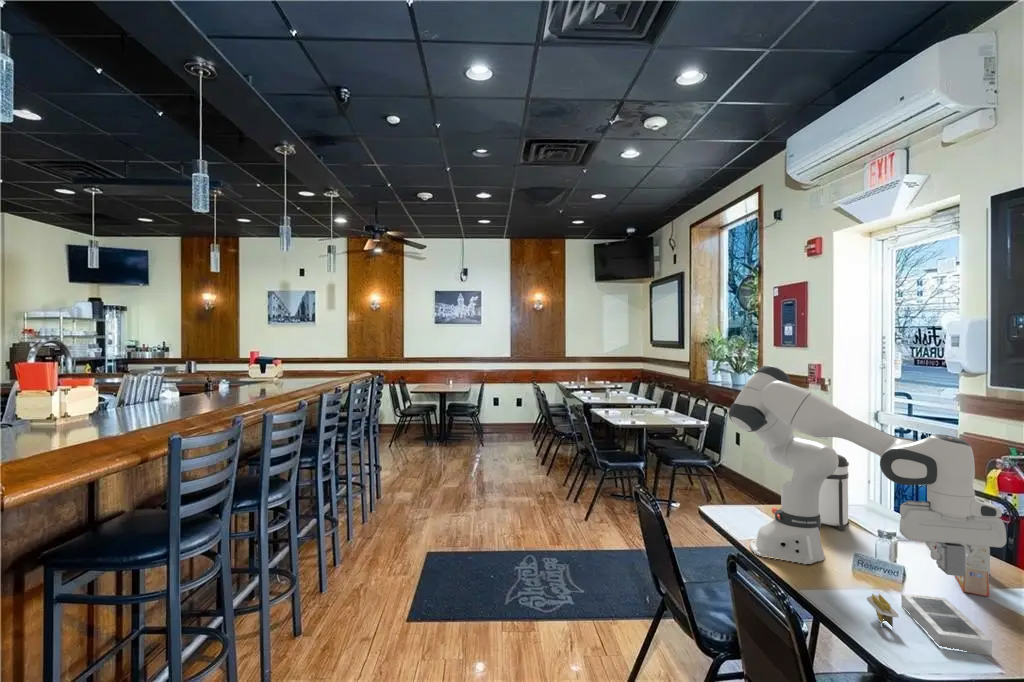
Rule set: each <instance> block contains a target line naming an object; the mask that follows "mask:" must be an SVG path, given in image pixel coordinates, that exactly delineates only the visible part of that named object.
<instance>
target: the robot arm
mask: <svg viewBox="0 0 1024 682" xmlns="http://www.w3.org/2000/svg"><path fill="white" fill-rule="evenodd" d="M728 417H729V420H730V421H731V422H732V423H733V424H734V425H735V426H736V427H738V428H739V429H740V430H744V431H746V432H748V433H749V432H753V433H754V434H755V435H756V436H757V437H758V438H759V439H760V441H761V442H762V443H763V453H764V456H765V458H766V459H768V460H769V461H770V462H772V463H773V464H775V465H776V466H778V467H779V466H780V467H783V468H786V469H789V470H792V472H793V473H792V477H791V479H790V480H789V481H787V482H785V483H784V484H783V485H781V488H780V492H781V493H780V494H781V495H780V497H781V498H780V499H781V500H780V502H781V503H780V504H781V505H780V506H781V508H779V509H778V508H777V507H775V506H774V507H772V508H771V513H772V514H773V515H774V519H772V520H771V521H769V522H767V524H766V523H765V525H763V526H761V527H760V528H759V529H758V532H757V535H756V539H755V538H754V539H752V540H750V542H749V548H750V547H751V548H750V550H751V551H753V552H754V555H756V554H757V555H759V556H767V557H773V558H778V559H783V560H787V561H786V562H788V561H792V562H791V563H794V562H798V563H797V564H800V563H803V564H802V565H806V564H811V565H812V563H813V562H814V563H817V561H818V562H822V561H823V560H825V558H826V556H825V553H824V549H823V546H822V545H823V544H822V540H821V533H820V532H821V528H822V527H821V526H822V523H821V518H820V514H819V492H820V488H821V485H822V483H823V481H824V480H825V479H826V478H827V477H828V476H830V475H832V474H833V473H834V472H835V471H836V469H837V467H838V463H839V460H838V455H839V454H838V453H837V451H836V450H835V449H834V448H832V447H831V446H829V445H827V444H824V443H822V442H819V441H816V440H812V439H806V438H803V437H800V436H797V435H795V434H793V433H794V429H795V430H797V431H799V432H802V433H803V434H807V435H809V436H812V437H813V438H814V437H815V438H838V439H843V440H845V441H848V442H851V443H853V444H855V445H857V446H859V447H861V448H863V449H866V450H867V451H869V452H871V453H874V454H875V455H877V456H879V457H880V459H879V467H880V469H881V472H882V474H883V475H884V476H885V477H886V478H887V479H888V480H890V481H891V482H893V483H896V484H899V485H904V486H926V498H927V500H926V501H924V500H923V501H921V500H918V501H915V500H907V501H906V502H905V501H904V502H903V503H901V504H900V505H899V515H900V520H899V532H900V534H901V535H902V536H903V537H904V538H906V539H907V540H910V541H917V542H918V541H919V542H924V543H925V545H926V546H927V548H928V550H929V551H930V558H931V559H932V560H933V561H936V560H941V553H940V552H938V551H936V548H934V547H933V546H936V542H941V543H953V544H965V545H966V546H967V547H968V549H967V550H966V563H972V556H974V554H975V553H976V552H977V551H978V546H988V547H990V548H1003V547H1005V545H1006V544H1007V530H1006V525H1005V523H1004V521H1003V520H1002V519H1001V517H1002V515H1003V512H1002V509H1000V508H999V507H998V506H996V505H994V504H992V503H990V502H988V501H986V500H983V499H980V498H977V497H976V492H975V489H974V485H973V484H974V480H975V478H976V477H975V476H976V468H975V466H976V465H975V463H976V462H975V457H974V452H973V447H972V446H971V445H970V444H969V443H968V442H967V441H966V440H964V439H962V438H959V437H955V436H952V435H948V434H942V433H941V434H940V433H935V434H931V435H929V436H928V437H925V438H923V439H920V440H917V439H914V438H910V437H901V436H896V435H892V434H890V433H887V432H885V431H882V430H881V429H879V428H877V427H874V426H872V425H869V424H868V423H865V422H864V421H861V420H859V419H857V418H855V417H853V416H851V415H850V414H848V413H846V412H845V411H844V410H842V409H840V408H838V407H837V406H835V405H834V404H832V403H831V402H829V401H828V400H826V399H824V398H823V397H821V396H818V394H815V393H813V392H811V391H809V390H806V389H804V388H802V387H800V386H797V385H794V384H792V381H791V379H790V377H789V375H788V374H787V373H786V372H785V371H783V370H782V369H780V368H778V367H777V366H774V365H770V364H769V365H762V366H761V367H759V368H758V369H757V370H756V371H755V372H754V374H753V375H752V376H751V377H750V378H749V380H748V381H747V382H746V383H745V385H744V386H742V389H741V391H740V392H739V394H738V395H737V397H736V398H735V400H734V402H733V403H732V404H731V405H730V408H729V410H728ZM837 454H838V455H837ZM753 542H755V543H753ZM753 552H752V553H753ZM757 555H756V556H757ZM759 556H758V557H759ZM814 563H813V564H814Z"/></svg>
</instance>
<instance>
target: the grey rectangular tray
mask: <svg viewBox="0 0 1024 682" xmlns="http://www.w3.org/2000/svg"><path fill="white" fill-rule="evenodd" d="M900 600H901V607H902V606H903V607H904V608H905V609H906V610H907V611H908V612H909V613H910V615H911V616H912V617H913V618H914V619H915V620H916V621H917V622H918V623H919V624H920V625H921V626H922V627H923V628H924V629H925V630H926V631H927V632H928V634H929V635H930V636H931V637H932V638H933V639H934V641H935V642H936V643H937V644H938V645H939V646H942V647H947V648H951V649H953V648H954V649H959V650H963V651H967V652H972V653H971V654H974V653H976V654H975V655H982V656H990V657H992V656H993V653H992V652H993V648H992V647H993V640H992V639H991V638H990V637H988V636H987V635H986V634H985V632H983V631H982V630H981V629H980V628H979V627H978V626H976V625H975V624H974V623H973V622H972V621H971V620H970V619H969V618H968V617H967V616H966V615H964V614H963V612H962V611H960V610H959V609H958V607H956V606H955V605H954V604H953V603H951V602H950V601H949V600H948V599H947V598H946V597H938V596H937V597H936V596H930V595H929V596H928V595H919V594H909V593H901V599H900ZM903 607H902V608H903ZM904 608H903V609H904ZM910 615H909V616H910ZM911 616H910V617H911ZM912 617H911V618H912Z"/></svg>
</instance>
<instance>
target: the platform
mask: <svg viewBox="0 0 1024 682" xmlns="http://www.w3.org/2000/svg"><path fill="white" fill-rule="evenodd" d="M866 601H867V602H868V604H870V605H871V606H872V608H874V610H875V612H876V616H877V619H878V621H879V620H880V621H881V623H882V622H883V621H887V622H888V623H889V624H890V625H891V626H892V627H894V623H893V621H894V620H893V619H894V618H899V617H900V616H899V614H898V612H896V611H895V609H894V608H893V607H892V606H891V604H890V602H888V600H887V599H885V598H884V597H883V596H882V595H881V594H880V593H878V595H875V594H873V593H872V594H871V596H868V597H866ZM883 619H884V620H883ZM880 621H879V622H880ZM882 624H883V623H882Z"/></svg>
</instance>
